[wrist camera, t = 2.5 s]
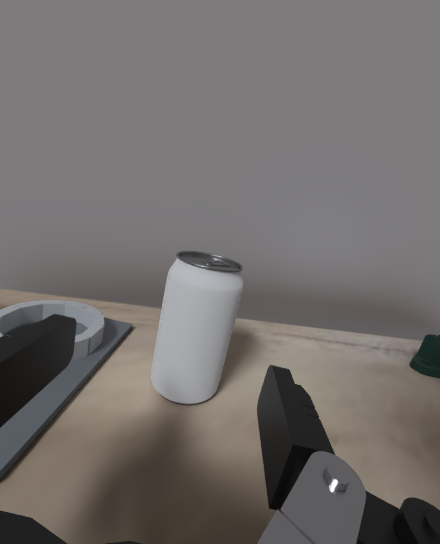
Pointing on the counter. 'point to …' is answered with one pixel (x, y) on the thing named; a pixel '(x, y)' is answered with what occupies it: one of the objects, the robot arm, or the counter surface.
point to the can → (195, 326)
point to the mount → (428, 357)
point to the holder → (86, 359)
